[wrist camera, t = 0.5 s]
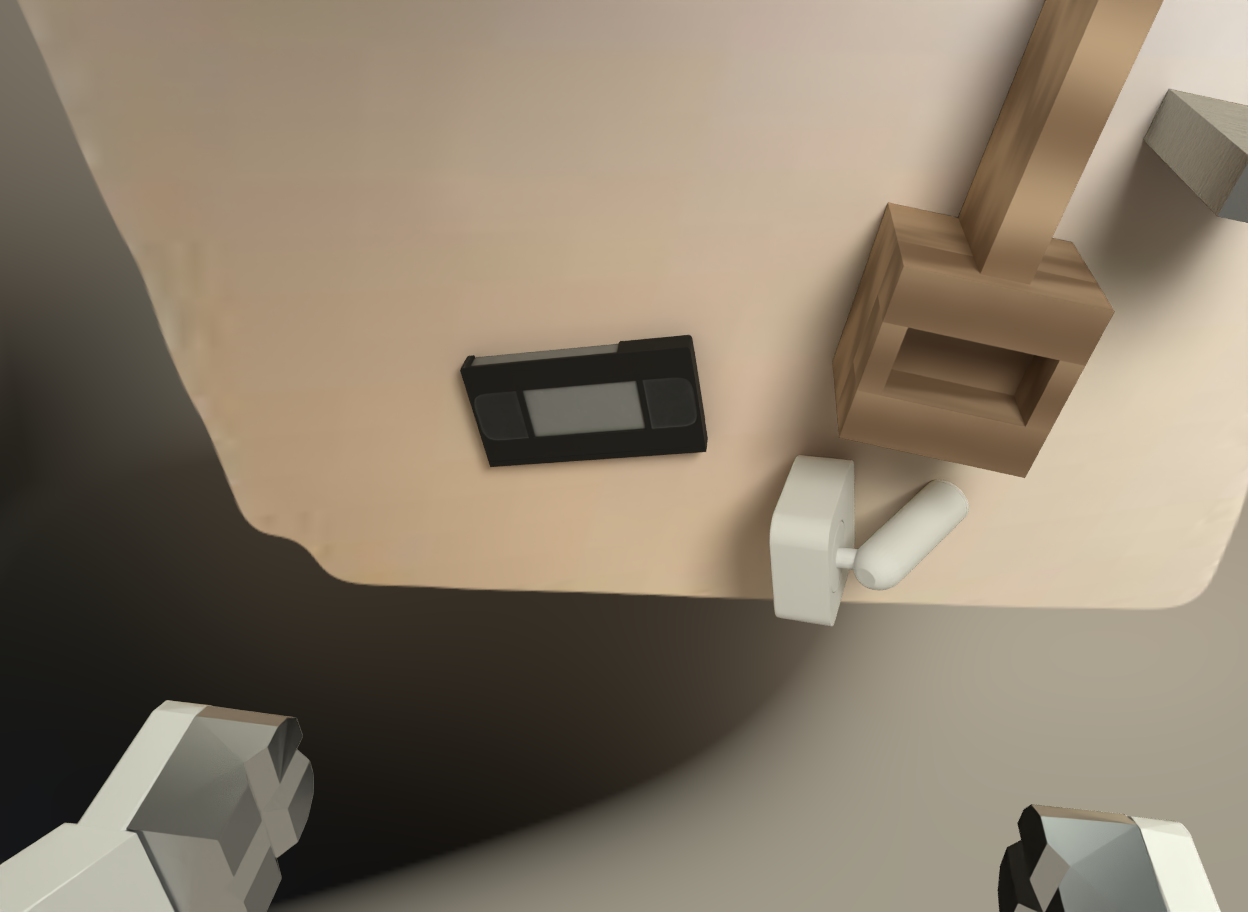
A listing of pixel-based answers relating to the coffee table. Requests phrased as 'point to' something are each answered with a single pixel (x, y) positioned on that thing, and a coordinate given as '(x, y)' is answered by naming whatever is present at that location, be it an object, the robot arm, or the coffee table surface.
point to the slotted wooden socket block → (993, 268)
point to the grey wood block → (1205, 149)
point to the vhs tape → (588, 402)
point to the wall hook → (847, 538)
